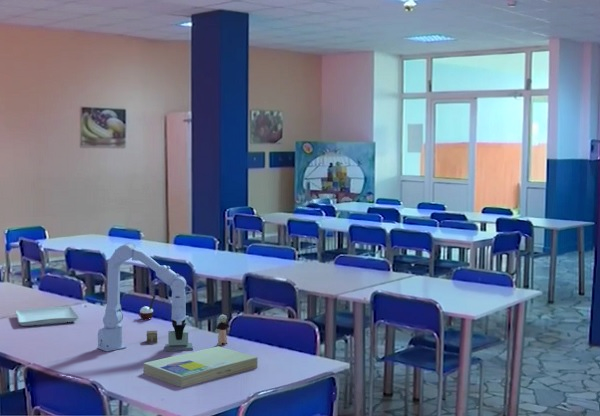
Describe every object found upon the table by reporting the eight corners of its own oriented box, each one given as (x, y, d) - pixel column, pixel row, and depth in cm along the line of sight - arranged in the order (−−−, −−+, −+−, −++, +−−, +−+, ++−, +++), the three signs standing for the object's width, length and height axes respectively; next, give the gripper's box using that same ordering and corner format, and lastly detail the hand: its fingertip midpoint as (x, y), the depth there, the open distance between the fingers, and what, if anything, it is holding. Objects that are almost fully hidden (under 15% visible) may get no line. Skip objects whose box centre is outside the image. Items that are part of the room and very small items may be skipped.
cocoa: (136, 319, 365) (135, 295, 364) (147, 317, 370) (146, 293, 369) (147, 322, 358) (145, 297, 358) (158, 319, 363) (156, 295, 362)
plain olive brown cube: (157, 343, 318) (157, 332, 318) (146, 343, 318) (146, 333, 317) (157, 340, 323) (157, 330, 323) (146, 340, 322) (146, 330, 322)
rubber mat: (191, 345, 315) (191, 342, 315) (192, 349, 307) (192, 347, 307) (165, 346, 313) (165, 343, 313) (165, 351, 305) (165, 348, 305)
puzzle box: (258, 369, 282) (218, 356, 299) (258, 357, 282) (218, 345, 299) (180, 389, 257) (141, 374, 274) (180, 376, 257) (141, 362, 274)
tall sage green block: (187, 342, 312) (187, 330, 312) (188, 344, 308) (188, 332, 308) (168, 342, 311) (168, 331, 311) (168, 345, 307) (168, 333, 307)
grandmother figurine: (220, 346, 313) (220, 316, 312) (213, 344, 315) (213, 315, 315) (232, 342, 319) (232, 313, 318) (225, 341, 322) (225, 312, 321)
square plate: (14, 317, 368) (14, 309, 368) (71, 313, 380) (71, 305, 379) (18, 329, 344) (18, 320, 343) (79, 324, 355) (79, 315, 355)
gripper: (189, 309, 302) (189, 342, 303) (187, 302, 316) (187, 333, 317) (171, 309, 301) (171, 342, 302) (170, 302, 315) (171, 334, 316)
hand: (178, 338), depth 310 cm, fingers closed on tall sage green block, 4 cm apart
